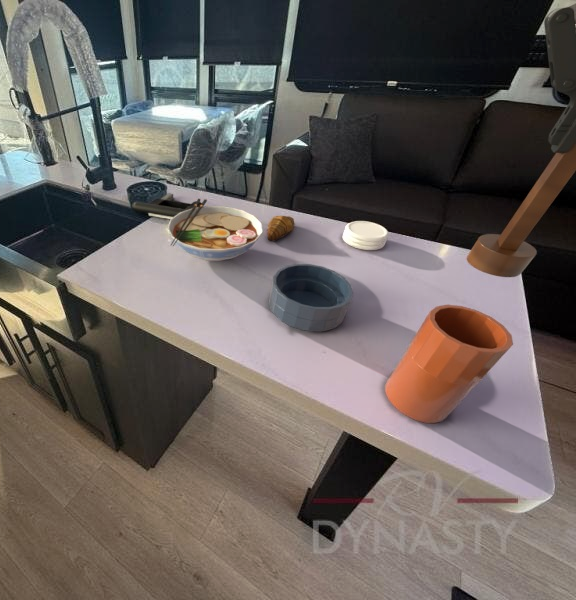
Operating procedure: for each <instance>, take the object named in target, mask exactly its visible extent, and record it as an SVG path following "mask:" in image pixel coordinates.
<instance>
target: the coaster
mask: <svg viewBox="0 0 576 600" xmlns="http://www.w3.org/2000/svg"><path fill="white" fill-rule="evenodd" d="M389 236H390V232H389V231H388V229H386V228H385V227H384V226H382V225H380V224H379V223H377V222H376V223H375V222H371V221H366V220H355V221H351V222H349V223H348V224H346V225H345V227H344V231H343V233H342V240H343V241H344V243H346V244H347V245H348V246H350V247H352V248H355V249H358V250H363V251H377V250H381V249H383V248H384V247H385V245H386V242H387V241H388V238H389Z"/></svg>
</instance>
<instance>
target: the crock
mask: <svg viewBox="0 0 576 600" xmlns="http://www.w3.org/2000/svg"><path fill="white" fill-rule="evenodd" d="M513 345H514V340H513V336H512V334H511V333H510V332H509V330H508V329H507V328H506V326H505V325H504V324H502V323H501V322H499V321H498V320H496V319H495V318H494V317H493V316H490V315H488V314H486V313H483V312H482V311H479V310H476V309H475V308H470V307H467V306H463V305H457V304H442V305H437V306H435V307H433V308H432V309H431V310H430V311H429V312H428V314H427V315H426V317H425V319H424V320H423V322H422V324H421V325H420V327H419V328H418V330H417V332H416V333H415V335H414V336H413V337H412V340H411V341H410V343H409V346H408V347H407V348H406V351H405V352H404V353H403V355H402V357H401V359H400V360H399V362H398V363H397V365H396V367H395V368H394V369H393V371H392V373H391V375H390V376H389V377H388V379H387V381H386V383H385V385H384V391H385V394H386V397H387V400H388V401H389V402H390V404H391V405H392V406H393V407H394V408H396V409H397V410H398V412H400V413H401V414H402V415H405V416H406V417H407V418H410V419H412V420H415V421H418V422H421V423H426V424H436V423H441V422H443V421H444V420H445V419H446V418H448V417H449V415H451V413H452V412H453V411H454V410H455V409H456V408H457V407H458V406H459V405H460V403H462V401H463V400H464V399H465V398H466V397H467V396H468V395H469V393H470V392H471V391H472V390H473V389H474V388H475V387H476V386H477V385H478V383H480V381H482V379H484V377H485V376H486V375H487V374H488V373H489V371H490V370H491V369H492V368H493V367H494V366H495V365H496V364H497V363H498V362H499V361H500V360H501V359H502V357H503V356H504V355H505V354H506V353H507V352H508V351H509V350H510V349H511V347H512V346H513Z"/></svg>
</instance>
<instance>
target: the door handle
mask: <svg viewBox="0 0 576 600" xmlns="http://www.w3.org/2000/svg"><path fill="white" fill-rule="evenodd" d="M196 202H197V200H195V201H192V202H191V203H188V202H182V201H176V200H174V193H171V192H169V193H167V194H165V195H164V196H162V198H154V200H152V201H151V202H149V203H148V202H143V201H133V202H132V204H131V210H132V211H134V212H137V213H143V214H148V216H149V217H157V218H161V219H167V220H168V219H169V220H170V219H172V218H173V217H174V216H176V215H177V214H179V213H180V212H183V211H186V210H189V209H192V208H193V207H194V205H195V203H196ZM201 204H202V202H201V201H200V202H199V204H198V205H197V207H196V208H198V207H200V205H201Z"/></svg>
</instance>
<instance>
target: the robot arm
mask: <svg viewBox="0 0 576 600" xmlns="http://www.w3.org/2000/svg"><path fill="white" fill-rule="evenodd" d="M543 25H544V33H545V41H546V42H545V43H546V50H547V59H548V68H549V76H550V77H549V78H550V85H551V87H552V88H553V89H554V90H555V91H557V92H559V93H561V94H564V95H566V96H568V97H569V101H568V103H567V106H566V107H565V109H564V110H563V111H562V113H561V114H560V117H559V118H558V120H557V121H556V123H555V124H554V126H553V127H552V129H551V131H550V132H549V134H548V138H547V141H548V143H549V144H550V145H551V146H550V150H551V151H552V152H553V153H555V154H556V153H562V154H564V153H566V152H567V151H568V150H569V149H570V147H571V146H572V145H573V143H574V142H575V140H576V1H575V2H573V3H571V4H569V5H567V6H564V7H558V8H555V9H553V10H552V11H550V12H549V13H548V14H547V15H546V17H545V18H544V21H543Z"/></svg>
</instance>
